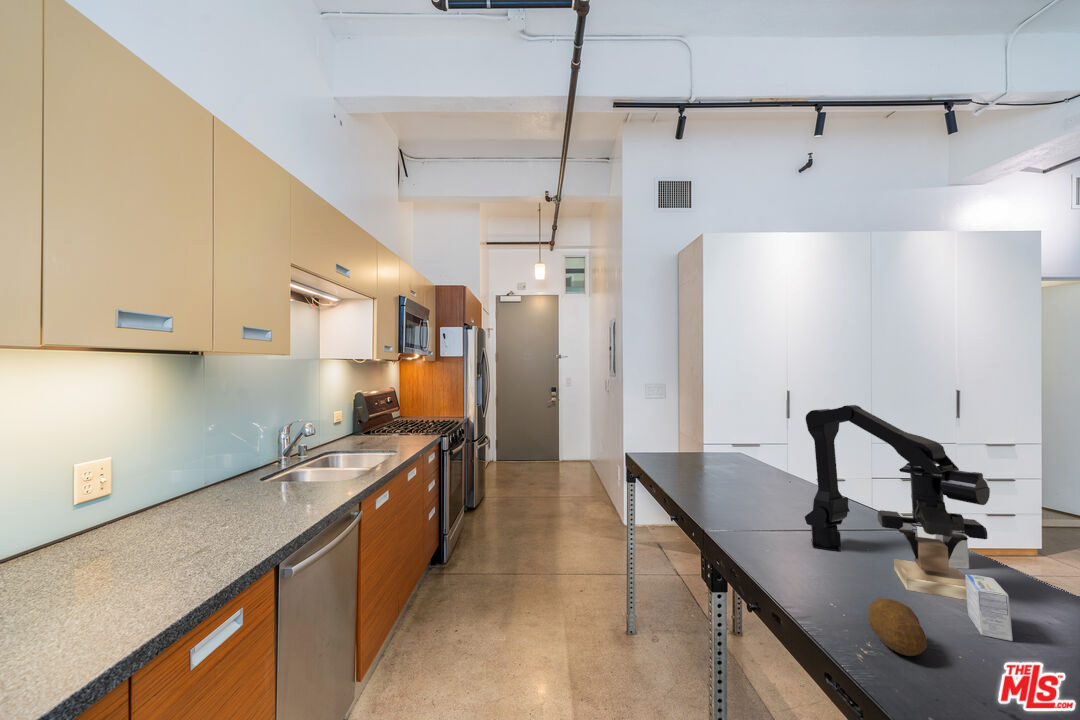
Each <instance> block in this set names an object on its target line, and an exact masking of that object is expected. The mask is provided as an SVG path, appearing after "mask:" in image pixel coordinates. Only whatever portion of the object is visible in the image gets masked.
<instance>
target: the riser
mask: <svg viewBox="0 0 1080 720" xmlns="http://www.w3.org/2000/svg"><path fill="white" fill-rule="evenodd" d="M893 565H894V566H893V568H894V571H895V572H896V575H898V577H899V579H900V581H901V582H902V584H903V586H904V587H905V589H906V591H912V592H918V593H923V594H930V595H935V596H936V595H937V596H941V597H942V596H943V597H948V598H952V599H953V598H955V599H960V600H965V601H967V595H966V583H965V575H964V573H962V572H961V571H960V570H959V568H954V567H949V573H942V572H935V571H928V570H922V569H920V567H919V566H918V565H917V563H916V562H915V561H911V560H905V559H904V560H903V559H896V558H893Z"/></svg>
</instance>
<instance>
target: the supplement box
mask: <svg viewBox="0 0 1080 720" xmlns="http://www.w3.org/2000/svg"><path fill="white" fill-rule="evenodd" d="M946 511H947V510H946ZM947 513H951V512H950V511H947ZM963 519H966V518H964V517H963ZM918 523H919V522H918ZM916 530H917V537H923V538H932V539H940V540H941V541H942V542H943V535H936V534H934V535H930V534H927V533H925V532H924V530H923V527H918V526H916ZM965 536H966V537H967V538H968V536H967V535H966V534H965ZM949 567H954V568H957V569H963V570H965V569H966V570H969V569H970V560H969V545H968V540H962V541H960V542H959V543H958V544H957V545H956V547H955V548H954V550H953V552H952V555H951V557H950V559H949Z"/></svg>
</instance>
